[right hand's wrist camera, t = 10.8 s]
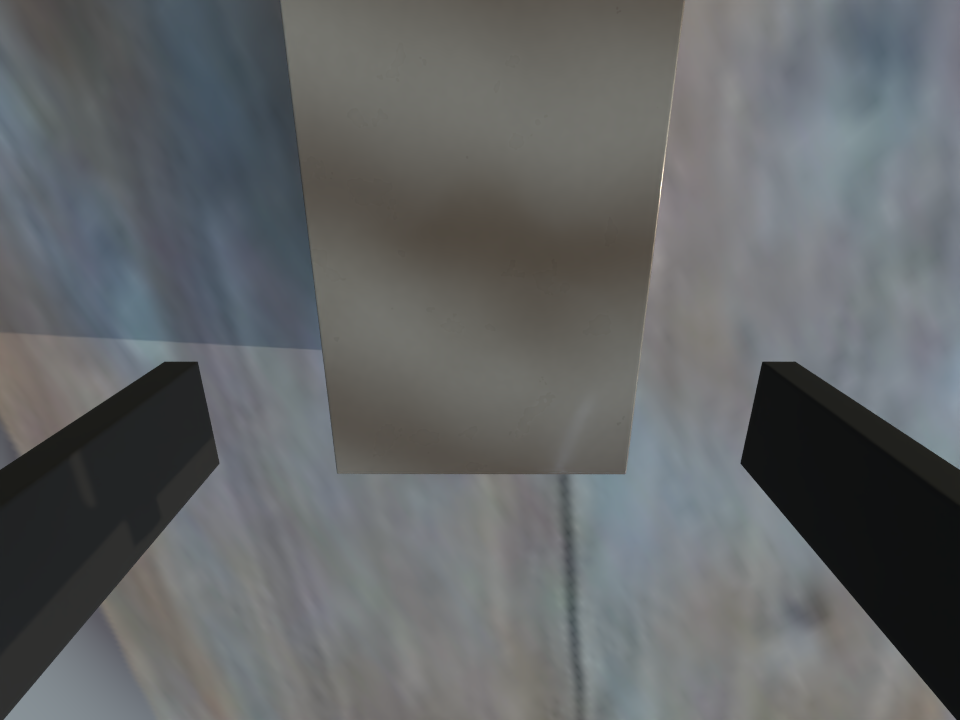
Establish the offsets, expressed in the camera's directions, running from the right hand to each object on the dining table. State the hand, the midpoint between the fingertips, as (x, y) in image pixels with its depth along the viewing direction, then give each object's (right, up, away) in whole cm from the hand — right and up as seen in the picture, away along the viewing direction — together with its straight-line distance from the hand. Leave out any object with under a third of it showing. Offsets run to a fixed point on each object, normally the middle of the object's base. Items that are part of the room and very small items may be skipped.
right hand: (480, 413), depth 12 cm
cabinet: (0, +10, +13) cm, 16 cm away
